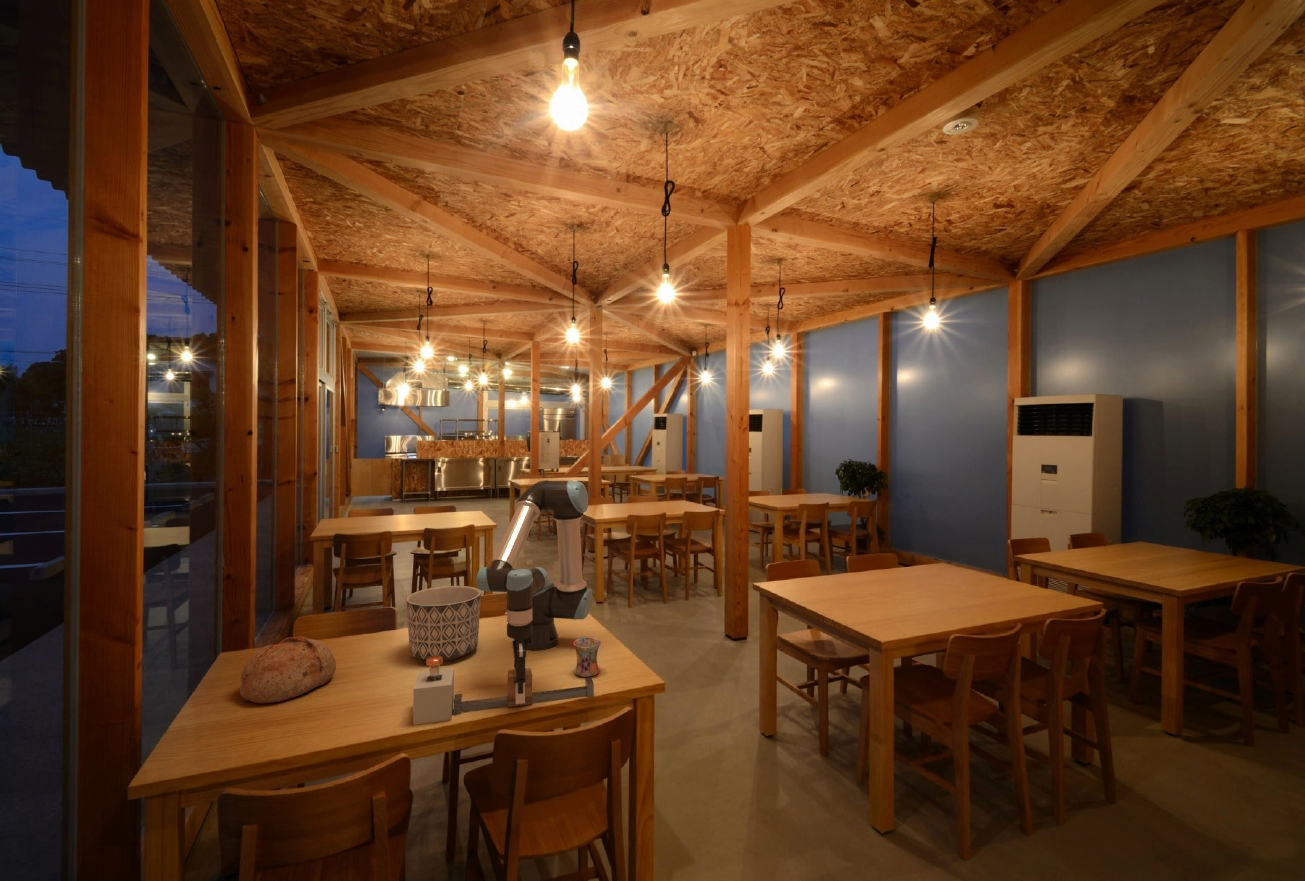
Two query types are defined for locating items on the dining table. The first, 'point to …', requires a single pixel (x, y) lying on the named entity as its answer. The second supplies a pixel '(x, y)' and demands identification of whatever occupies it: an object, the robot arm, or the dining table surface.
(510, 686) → the block
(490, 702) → the rail
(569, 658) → the dining table surface
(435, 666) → the push button
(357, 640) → the dining table surface
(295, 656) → the bread
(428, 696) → the knob base
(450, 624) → the planter
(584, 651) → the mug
